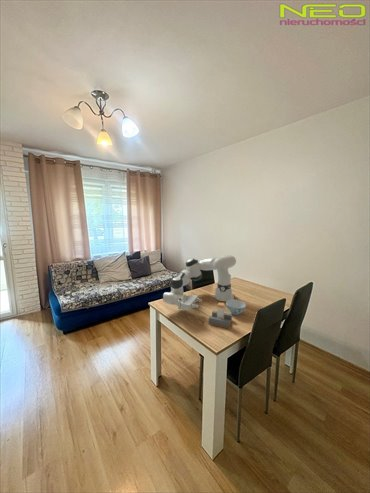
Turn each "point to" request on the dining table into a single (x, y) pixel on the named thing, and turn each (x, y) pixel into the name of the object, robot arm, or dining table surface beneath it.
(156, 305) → the dining table surface
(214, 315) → the duct block
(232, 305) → the chinaware
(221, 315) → the plug post
